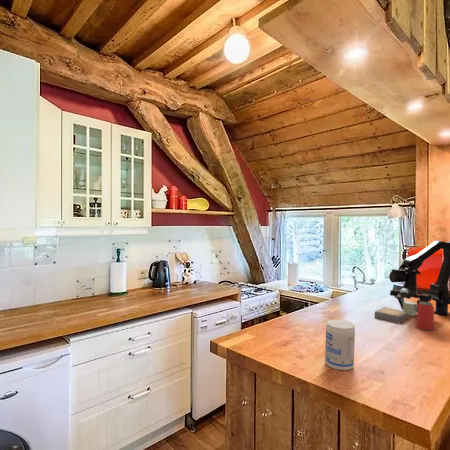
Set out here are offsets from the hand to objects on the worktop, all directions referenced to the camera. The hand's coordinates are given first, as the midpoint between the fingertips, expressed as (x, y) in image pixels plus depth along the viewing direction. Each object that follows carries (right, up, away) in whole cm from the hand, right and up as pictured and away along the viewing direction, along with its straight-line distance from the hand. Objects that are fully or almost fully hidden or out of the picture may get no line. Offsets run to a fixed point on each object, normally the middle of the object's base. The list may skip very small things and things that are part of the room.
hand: (409, 311), depth 175 cm
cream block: (0, -2, 0) cm, 2 cm away
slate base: (-13, -2, -6) cm, 15 cm away
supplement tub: (-59, -3, -60) cm, 84 cm away
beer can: (-5, -2, -22) cm, 23 cm away
